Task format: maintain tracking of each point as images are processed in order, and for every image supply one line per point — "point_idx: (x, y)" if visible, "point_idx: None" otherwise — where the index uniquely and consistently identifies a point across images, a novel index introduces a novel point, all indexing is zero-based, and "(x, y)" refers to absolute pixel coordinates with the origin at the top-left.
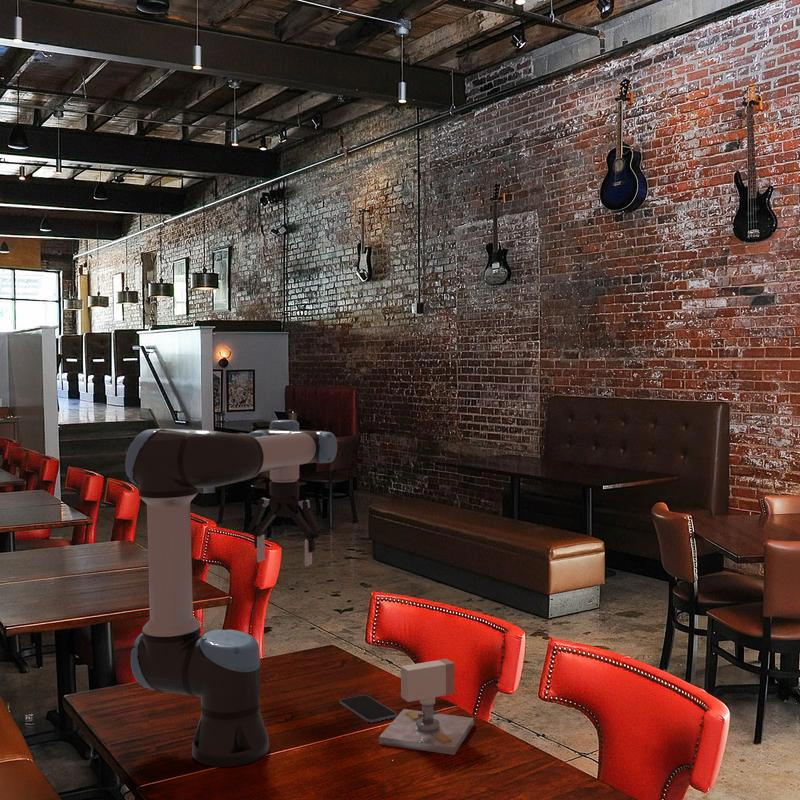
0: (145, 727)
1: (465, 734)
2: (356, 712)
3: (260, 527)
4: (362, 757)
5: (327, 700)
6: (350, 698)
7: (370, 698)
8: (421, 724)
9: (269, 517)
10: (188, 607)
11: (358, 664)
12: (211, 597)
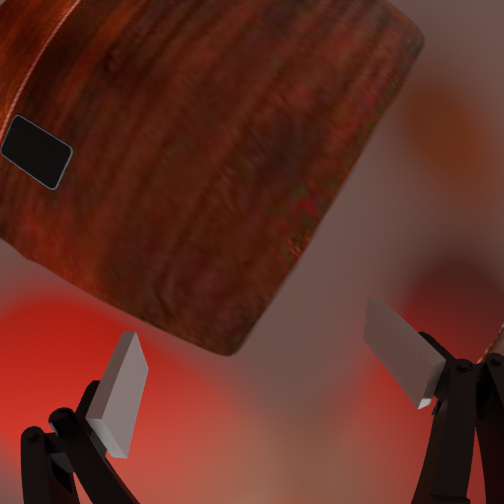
0: None
1: None
2: (36, 125)
3: (462, 405)
4: (5, 45)
5: (90, 144)
6: (62, 164)
7: (42, 181)
8: None
9: (442, 494)
10: None
11: (138, 308)
12: None
